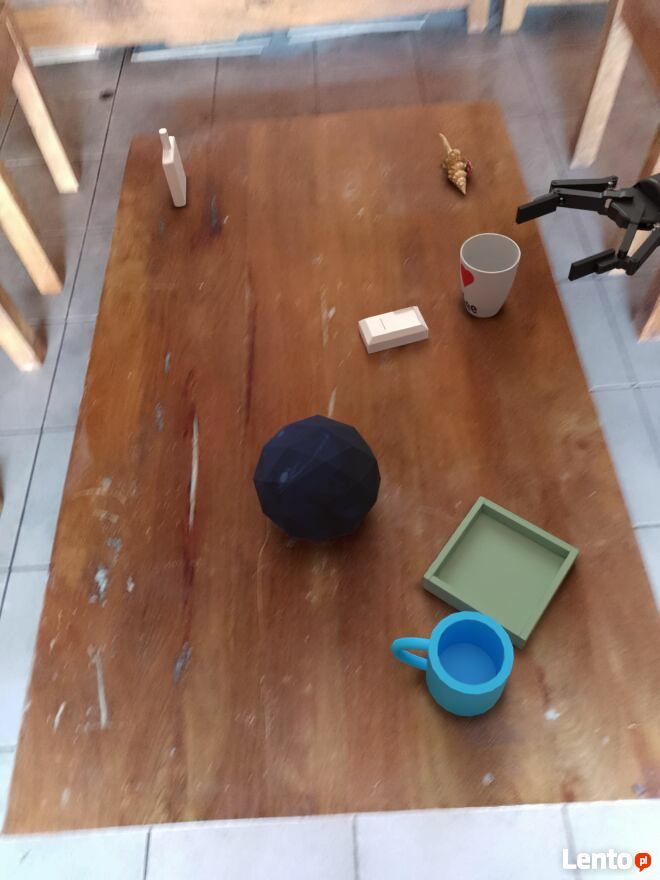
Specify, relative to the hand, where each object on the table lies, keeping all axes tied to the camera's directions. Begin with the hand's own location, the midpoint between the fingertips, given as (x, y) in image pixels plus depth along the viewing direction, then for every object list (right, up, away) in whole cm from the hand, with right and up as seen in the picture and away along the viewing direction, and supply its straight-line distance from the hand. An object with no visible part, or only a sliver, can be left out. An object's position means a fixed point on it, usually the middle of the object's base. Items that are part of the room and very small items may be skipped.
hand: (543, 243), depth 101 cm
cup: (-7, -8, +5) cm, 12 cm away
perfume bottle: (-57, +16, +27) cm, 65 cm away
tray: (-11, -43, -19) cm, 49 cm away
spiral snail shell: (-8, +19, +24) cm, 31 cm away
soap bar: (-21, -12, +3) cm, 25 cm away
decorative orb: (-31, -36, -12) cm, 50 cm away
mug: (-18, -53, -25) cm, 61 cm away
